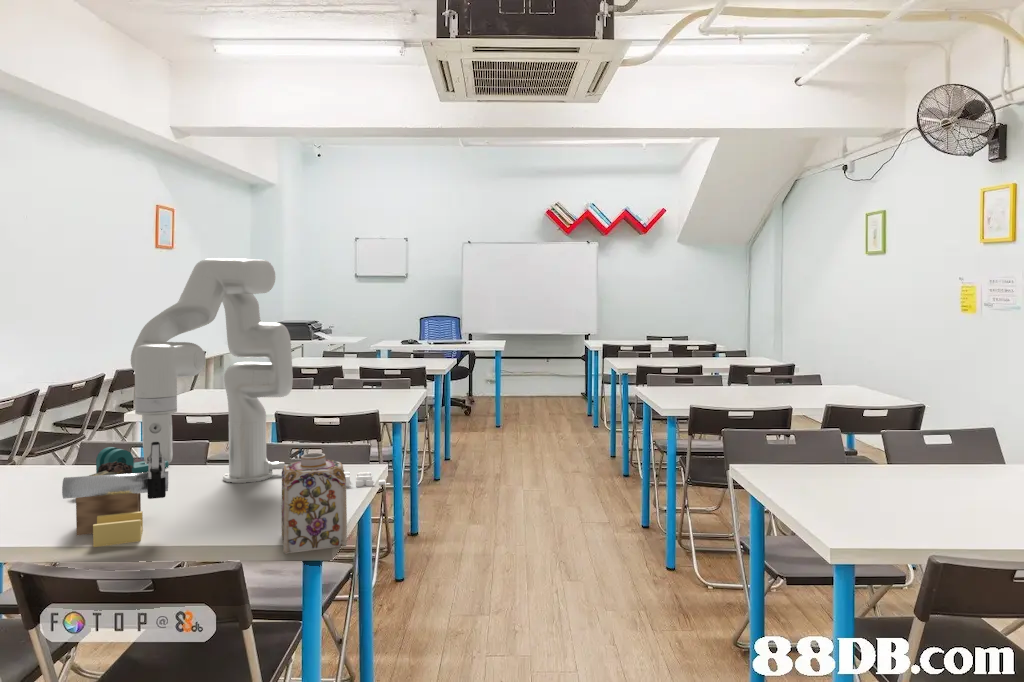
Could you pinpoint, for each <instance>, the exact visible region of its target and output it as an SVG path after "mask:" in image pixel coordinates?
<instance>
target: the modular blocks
mask: <svg viewBox="0 0 1024 682" xmlns="http://www.w3.org/2000/svg"><path fill="white" fill-rule="evenodd" d="M344 474H345V478H346V486H347V487H351V485H350V484H351V472H350V471H344ZM373 476H374V475H372V472H371V471H367V472H363V471H362V472H360V471H359V472H358V473H356V476H355V487H356V488H357V487H364V486H366V487H369V486H370V487H371V486H374V479H373ZM378 485H379V486H380V485H381V486H383V485H391V483H390V482H387V483H386V480H385V479H378Z"/></svg>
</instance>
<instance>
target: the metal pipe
mask: <svg viewBox="0 0 1024 682" xmlns="http://www.w3.org/2000/svg"><path fill="white" fill-rule="evenodd" d="M132 468H133V466H131V465H127V464H125V463H122V462H120V463H117V461H116V462H112V463H111V462H108V463H106V464H102V465H101V466H99V468H98V472H97V473H93V474H89V475H88V476H98V475H115V474H131V473H132Z"/></svg>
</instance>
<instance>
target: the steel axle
mask: <svg viewBox="0 0 1024 682" xmlns="http://www.w3.org/2000/svg"><path fill="white" fill-rule="evenodd" d="M164 477H165V478H166V492H168V491H169V471H167V470H165V471H164ZM147 479H149V478H148V472H144V473H131V474H115V475H98V476H89V475H84V476H70V477H67V476H66V477H63V479H62V486H61V487H62V489H61V495H62V499H74V498H75V499H76V498H79V497H93V496H107V495H121V494H135V493H141V494H146V493H147V494H148V491H147Z"/></svg>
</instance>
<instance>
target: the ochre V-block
mask: <svg viewBox="0 0 1024 682" xmlns="http://www.w3.org/2000/svg"><path fill="white" fill-rule="evenodd" d="M143 512H144V511H143V510H141V511H140V512H130V513H120V514H111V515H101V516H97V524H94V525H93V534H92V535H93V536H92V539H93V543H92V544H93V545H92V546H93V548H99V547H105V546H107V547H108V546H112V545H122V544H127V543H128V544H130V543H137V542H141V541H142V536H143V531H144V525H143V523H144V520H143V519H144V517H143V516H144V515H143V514H144V513H143Z"/></svg>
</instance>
